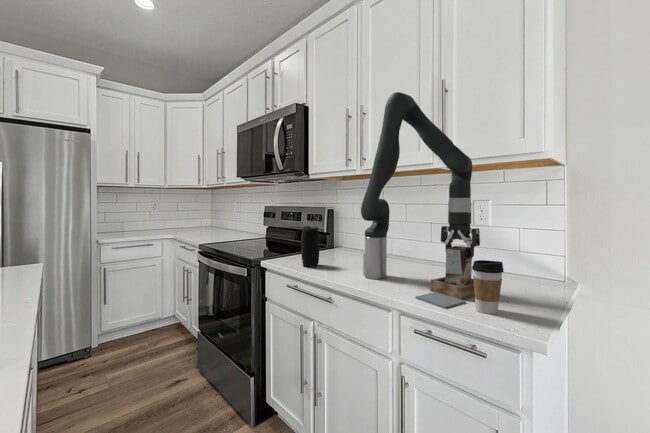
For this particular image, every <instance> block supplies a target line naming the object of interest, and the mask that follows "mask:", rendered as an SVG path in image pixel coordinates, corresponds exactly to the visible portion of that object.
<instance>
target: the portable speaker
mask: <svg viewBox="0 0 650 433" xmlns="http://www.w3.org/2000/svg"><path fill="white" fill-rule="evenodd" d="M300 239H301V240H300V244H301V247H300V248H301V250H300V251H301V252H300V253H301V260H302V261H301V262H302V267H305V266H308V267H309V268H316V267H317V266H318V265H319V264H320V263H319V260H320V234H319V226H315V225H314V226H309V225H304V226H302V230H301V237H300Z"/></svg>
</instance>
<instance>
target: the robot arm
mask: <svg viewBox="0 0 650 433" xmlns="http://www.w3.org/2000/svg"><path fill="white" fill-rule="evenodd" d="M403 122H405V123H406V124H408V125H409V126H411V127H412V128H413V129H414V130H415V131H416V133H417V135H418V136H419V137H420V138H421V140H422V142H423V143H424V144H425V146H426V147H427V148H428V149H430V151H432V152H433V154H434V155H436V157H438V158H439V159H440V160H441V161H442V163H443V164H444V165H445V167H446V168H447V169H448V170H450V172H451V182H450V183H449V188H448V192H449V193H448V204H447V206H448V209H447V210H448V211H447V213H448V215H447V216H448V217H447V218H448V219H447V223H448V225H441V228H440V229H441V230H440V242H441V243H444V246H445V253H446V248H449V247H453V245H452V243H453V242H454V241H455V240H460V241H463V242H464V243H465V245H466V247H468V248H467V258H472V259H473V258H474V256H475V247H479V246H480V245H481V238H480V237H481V236H480V233H481V232H480V229H479V228H478V227H474V228H471V224H472V200H471V199H472V198H471V197H472V196H471V194H472V192H471V191H472V190H471V189H472V188H471V187H472V186H471V181H472V176H473V162H472V159H471V158H470V157H469V155H467V154H465V153H464V152H463V151H462V150H461V149H460V148H459V147H458V146H457V145H455V144H454V142H453V141H452V140H451V139H450V138H449V137H448V136H447V135H446V134H445V132H443V131H442V130H441V129H440V128H439V127H438V126H437V125H435V123H433V122H432V121H431V119H429V117H427V115H426V114H425V113H424V111H422V109H421V107H419V104H418V103H417V102H416V101H415V99H414V98H413V97H412V96H411V95H408V94H406V93H403V92H400V91H399V92H397V91H395V92H393V93H392V94H390V95H389V96H388V98H387V100H386V102H385V105H384V113H383V120H382V126H381V131H380V136H379V141H378V145H377V148H376V149H377V150H376V152H375V156H374V160H373V166H372V170H371V174H370V177H369V181H368V185H367V188H366V191H365V193H364V197H363V199H362V203H361V206H360V215H361V217H362V219H363V220H364V221H366V222H367V221H368V222H372V223H371V225H370V226H369V227H368V228H366V229H365V231H364V253H363V261H362V262H363V265H362V266H363V268H362V269H363V270H362V272H363V273H362V274H363V276H364V277H365V278H367V279H371V280H373V279H374V280H381V279H386V278H387V256H388V255H387V245H388V240H387V239H388V235H387V234H388V232H389V227H390V214H391V213H390V206H389V203H388V201H387V200H386V199H383V198H380V197H381V194H382V191H383V190H384V187H385V186H386V185H387V184H388V182H390V179H391V178H393V176H394V175H395V172H396V171H397V167H398V163H399V159H400V155H401V154H400V151H401V150H400V131H401V127H402V123H403ZM470 234H471V235H470Z"/></svg>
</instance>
